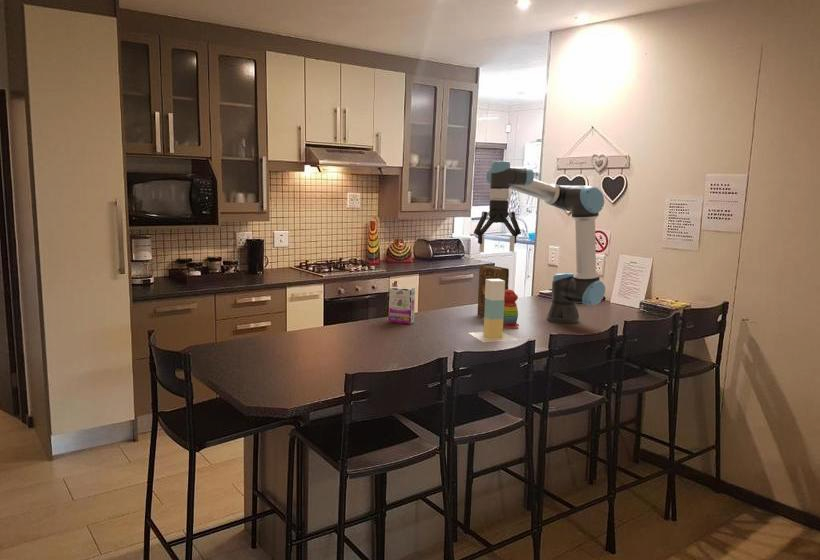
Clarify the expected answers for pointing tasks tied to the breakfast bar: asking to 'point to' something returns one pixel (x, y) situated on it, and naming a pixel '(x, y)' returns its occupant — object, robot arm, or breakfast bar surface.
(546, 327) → the breakfast bar surface
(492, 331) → the brick base
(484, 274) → the book
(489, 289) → the brick
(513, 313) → the stacking bear
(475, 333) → the build plate
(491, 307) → the brick
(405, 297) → the candy bar box
